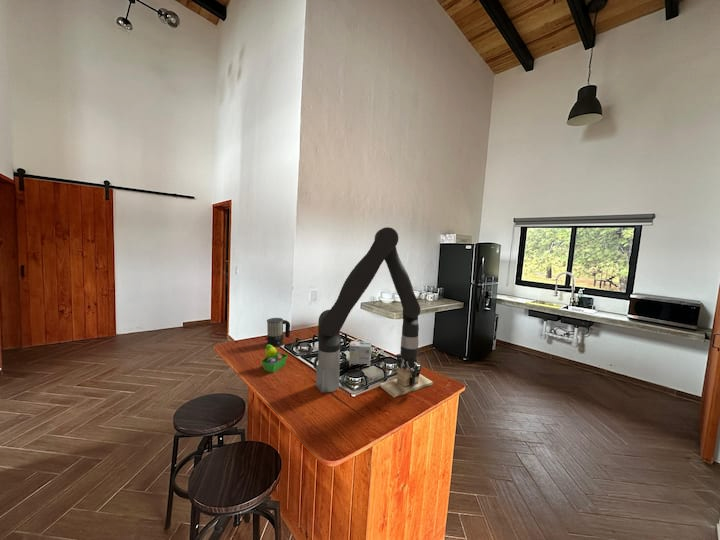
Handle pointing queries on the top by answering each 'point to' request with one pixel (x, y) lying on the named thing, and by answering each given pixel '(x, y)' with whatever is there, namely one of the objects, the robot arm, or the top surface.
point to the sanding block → (404, 377)
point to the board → (398, 390)
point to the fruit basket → (273, 359)
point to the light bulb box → (360, 353)
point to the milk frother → (277, 331)
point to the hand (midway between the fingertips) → (407, 381)
